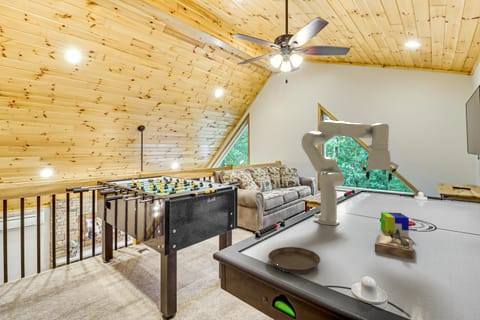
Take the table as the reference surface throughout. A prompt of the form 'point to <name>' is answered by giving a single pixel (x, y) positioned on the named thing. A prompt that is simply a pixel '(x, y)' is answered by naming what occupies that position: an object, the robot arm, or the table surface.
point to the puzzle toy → (395, 223)
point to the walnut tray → (393, 247)
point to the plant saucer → (294, 259)
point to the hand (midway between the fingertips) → (378, 180)
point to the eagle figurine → (398, 237)
